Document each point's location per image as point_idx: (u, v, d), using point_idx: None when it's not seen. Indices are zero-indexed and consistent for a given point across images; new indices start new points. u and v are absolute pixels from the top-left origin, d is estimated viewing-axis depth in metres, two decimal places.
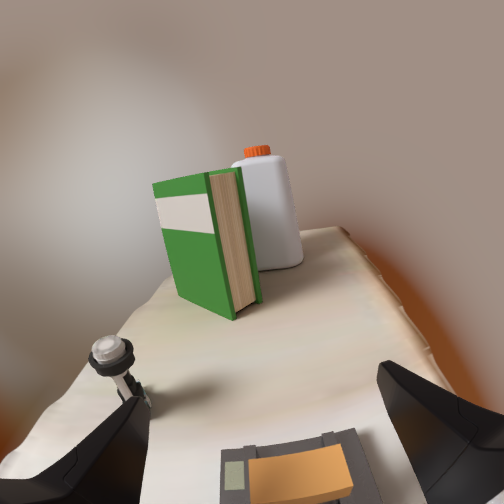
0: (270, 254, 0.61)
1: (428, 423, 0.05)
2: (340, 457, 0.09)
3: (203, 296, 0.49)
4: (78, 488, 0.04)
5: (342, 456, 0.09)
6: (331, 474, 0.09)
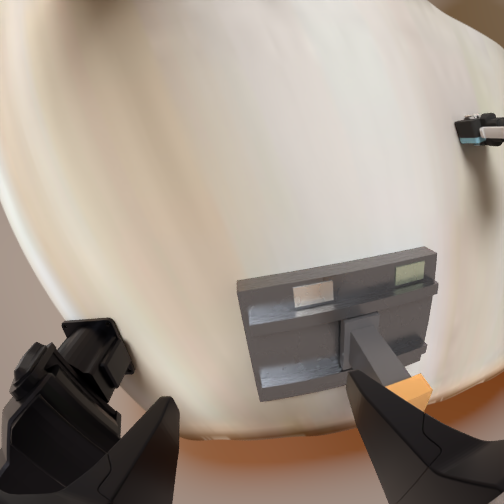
0: None
1: (390, 439, 0.05)
2: None
3: None
4: (114, 498, 0.04)
5: None
6: None
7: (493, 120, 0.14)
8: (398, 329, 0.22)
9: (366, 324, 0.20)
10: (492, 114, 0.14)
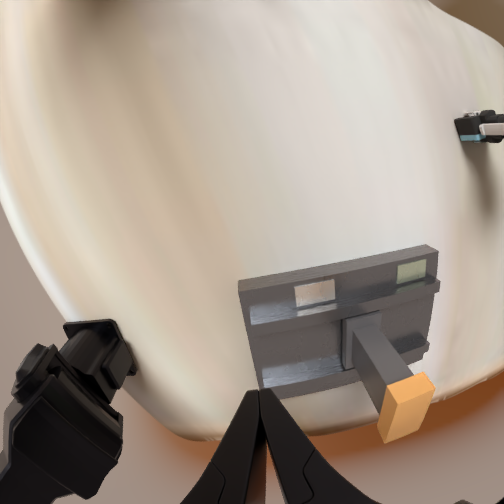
0: None
1: (275, 468, 0.05)
2: (408, 432, 0.13)
3: None
4: None
5: (408, 433, 0.13)
6: (399, 432, 0.12)
7: (493, 117, 0.14)
8: (400, 327, 0.21)
9: (368, 323, 0.19)
10: (492, 111, 0.14)
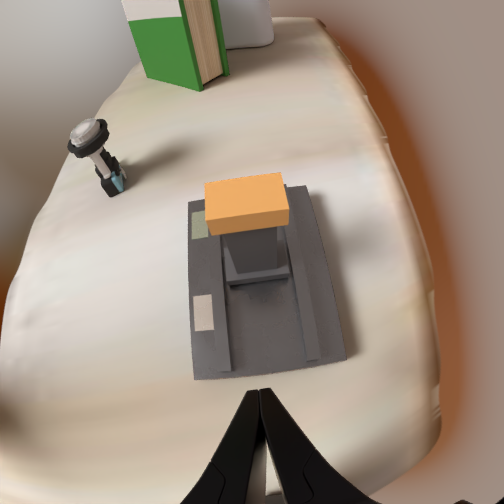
0: (239, 34, 0.45)
1: (275, 468, 0.05)
2: (280, 183, 0.15)
3: (171, 73, 0.41)
4: None
5: (281, 183, 0.15)
6: (271, 196, 0.15)
7: (96, 168, 0.28)
8: None
9: (232, 259, 0.23)
10: (96, 167, 0.29)
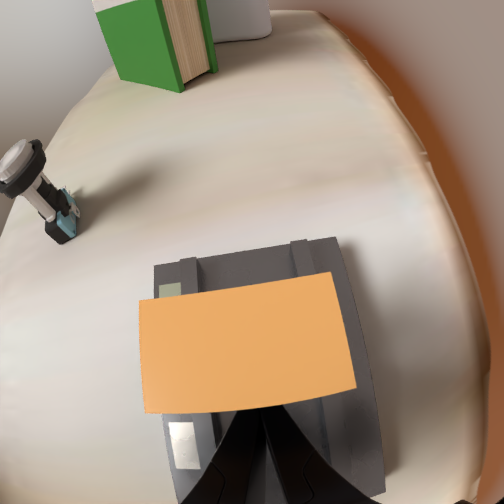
0: (231, 24, 0.36)
1: (275, 468, 0.05)
2: (332, 307, 0.06)
3: (146, 71, 0.31)
4: None
5: (335, 306, 0.06)
6: (311, 353, 0.05)
7: None
8: None
9: None
10: None
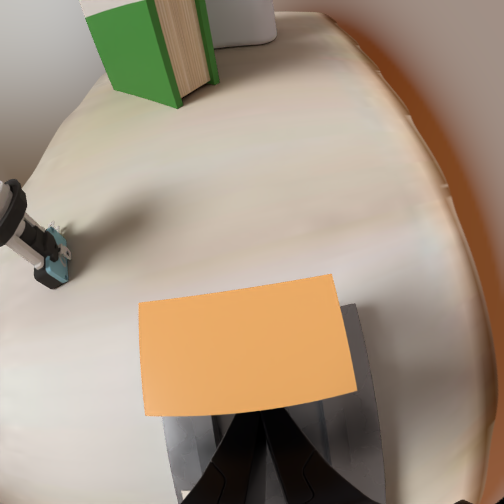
0: (233, 28, 0.34)
1: (275, 468, 0.05)
2: (333, 310, 0.06)
3: (140, 83, 0.29)
4: None
5: (336, 309, 0.06)
6: (311, 356, 0.05)
7: None
8: None
9: None
10: None
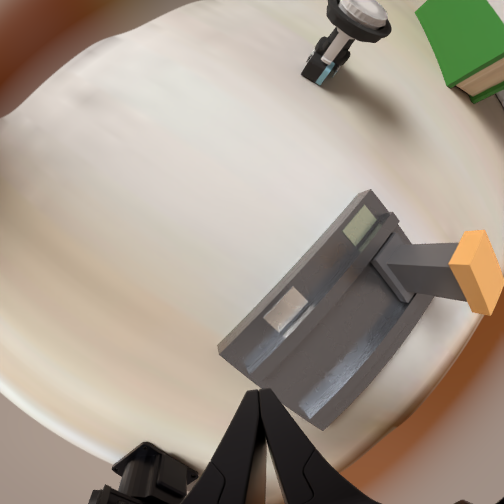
0: None
1: (275, 468, 0.05)
2: (500, 290, 0.11)
3: (443, 43, 0.23)
4: None
5: (500, 291, 0.11)
6: (493, 295, 0.11)
7: (325, 42, 0.17)
8: None
9: (393, 248, 0.19)
10: (322, 38, 0.18)
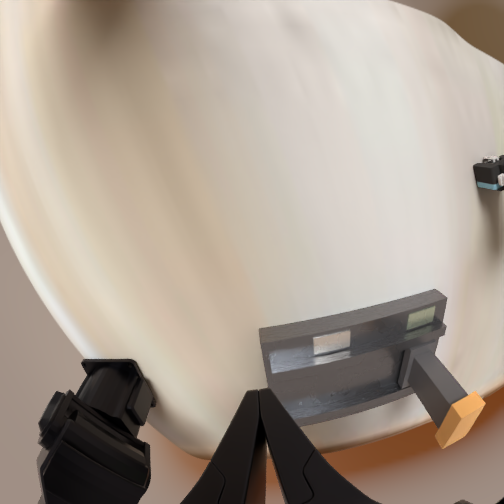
0: None
1: (275, 468, 0.05)
2: (459, 438, 0.13)
3: None
4: None
5: (458, 439, 0.13)
6: (454, 439, 0.13)
7: None
8: None
9: (426, 350, 0.20)
10: None
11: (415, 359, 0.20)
